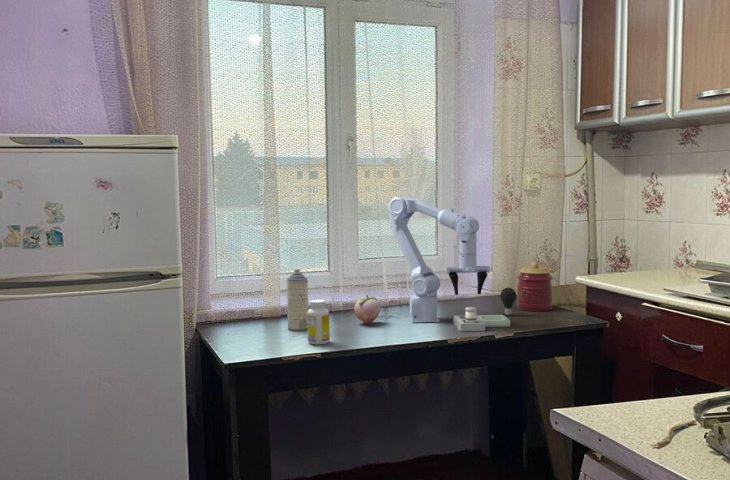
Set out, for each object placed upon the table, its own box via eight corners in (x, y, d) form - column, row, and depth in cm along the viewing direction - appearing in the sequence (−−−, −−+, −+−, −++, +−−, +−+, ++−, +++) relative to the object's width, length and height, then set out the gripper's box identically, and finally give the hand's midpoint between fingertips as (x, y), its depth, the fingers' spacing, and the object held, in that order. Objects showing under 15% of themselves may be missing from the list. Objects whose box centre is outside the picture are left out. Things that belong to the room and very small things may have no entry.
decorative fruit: (363, 320, 244) (363, 291, 243) (384, 322, 240) (383, 293, 239) (349, 325, 236) (348, 296, 235) (370, 328, 232) (369, 298, 231)
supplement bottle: (329, 339, 217) (329, 298, 216) (329, 344, 210) (328, 302, 209) (308, 340, 217) (307, 299, 216) (307, 345, 210) (306, 303, 209)
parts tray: (482, 327, 232) (482, 321, 232) (476, 321, 241) (476, 315, 241) (510, 326, 232) (510, 320, 232) (503, 320, 241) (503, 314, 241)
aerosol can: (312, 327, 234) (311, 268, 232) (302, 332, 228) (301, 271, 226) (294, 325, 237) (293, 267, 235) (284, 330, 230) (282, 269, 228)
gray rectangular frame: (460, 331, 226) (460, 323, 226) (453, 322, 239) (453, 315, 239) (485, 330, 226) (485, 323, 226) (476, 322, 239) (476, 315, 239)
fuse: (466, 330, 227) (466, 309, 227) (464, 327, 231) (464, 306, 230) (477, 330, 228) (477, 308, 227) (475, 327, 231) (475, 306, 231)
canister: (510, 306, 266) (510, 260, 264) (540, 304, 270) (541, 258, 268) (528, 313, 254) (528, 264, 252) (559, 310, 258) (560, 262, 256)
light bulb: (515, 313, 252) (515, 286, 251) (517, 317, 247) (517, 289, 246) (499, 313, 253) (499, 286, 252) (500, 316, 247) (501, 288, 246)
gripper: (448, 255, 228) (448, 296, 230) (492, 254, 229) (492, 295, 231) (444, 253, 235) (444, 293, 237) (487, 252, 236) (487, 292, 238)
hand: (467, 294), depth 234 cm, fingers open, 7 cm apart
